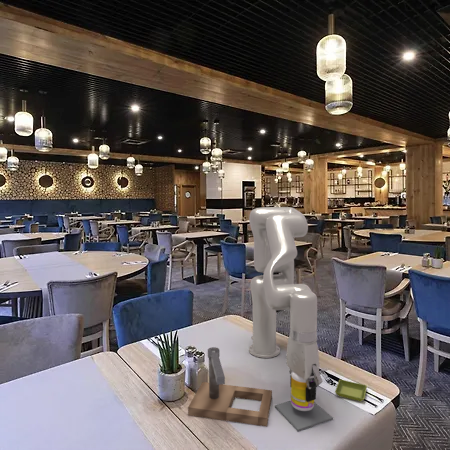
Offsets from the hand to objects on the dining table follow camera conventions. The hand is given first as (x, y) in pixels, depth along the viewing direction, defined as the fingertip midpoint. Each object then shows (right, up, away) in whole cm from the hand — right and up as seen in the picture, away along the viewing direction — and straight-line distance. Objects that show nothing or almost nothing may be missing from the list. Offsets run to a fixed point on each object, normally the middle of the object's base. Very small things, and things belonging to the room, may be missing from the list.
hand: (302, 392), depth 100 cm
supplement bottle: (0, -4, 0) cm, 4 cm away
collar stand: (-21, -6, +4) cm, 22 cm away
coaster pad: (0, -6, 0) cm, 6 cm away
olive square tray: (+18, -6, +10) cm, 21 cm away
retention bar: (-25, +9, -3) cm, 27 cm away
